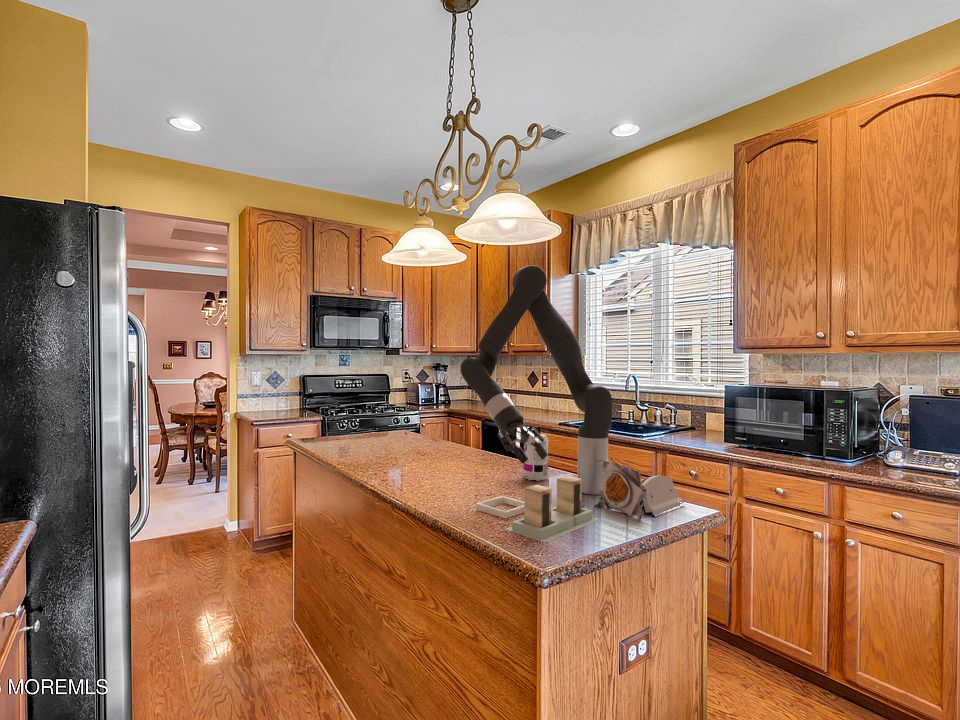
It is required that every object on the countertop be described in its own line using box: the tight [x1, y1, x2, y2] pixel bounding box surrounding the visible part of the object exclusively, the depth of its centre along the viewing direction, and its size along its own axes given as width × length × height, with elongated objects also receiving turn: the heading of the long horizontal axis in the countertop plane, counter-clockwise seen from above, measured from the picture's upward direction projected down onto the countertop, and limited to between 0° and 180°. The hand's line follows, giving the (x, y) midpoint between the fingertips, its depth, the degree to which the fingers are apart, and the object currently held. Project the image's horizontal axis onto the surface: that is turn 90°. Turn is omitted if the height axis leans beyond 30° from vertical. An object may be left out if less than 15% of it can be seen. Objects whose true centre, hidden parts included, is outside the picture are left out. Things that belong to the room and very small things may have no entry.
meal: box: [593, 460, 646, 521], centre depth 136 cm, size 15×4×13 cm, turn 35°
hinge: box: [640, 475, 685, 516], centre depth 141 cm, size 17×5×10 cm, turn 131°
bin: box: [475, 495, 525, 519], centre depth 134 cm, size 11×11×2 cm
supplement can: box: [522, 433, 549, 482], centre depth 173 cm, size 8×8×15 cm
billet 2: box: [556, 475, 583, 516], centre depth 128 cm, size 4×5×10 cm
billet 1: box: [523, 484, 553, 528], centre depth 118 cm, size 4×5×10 cm
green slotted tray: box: [504, 505, 601, 544], centre depth 123 cm, size 23×12×3 cm, turn 136°
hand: (535, 459), depth 135 cm, fingers open, 8 cm apart
